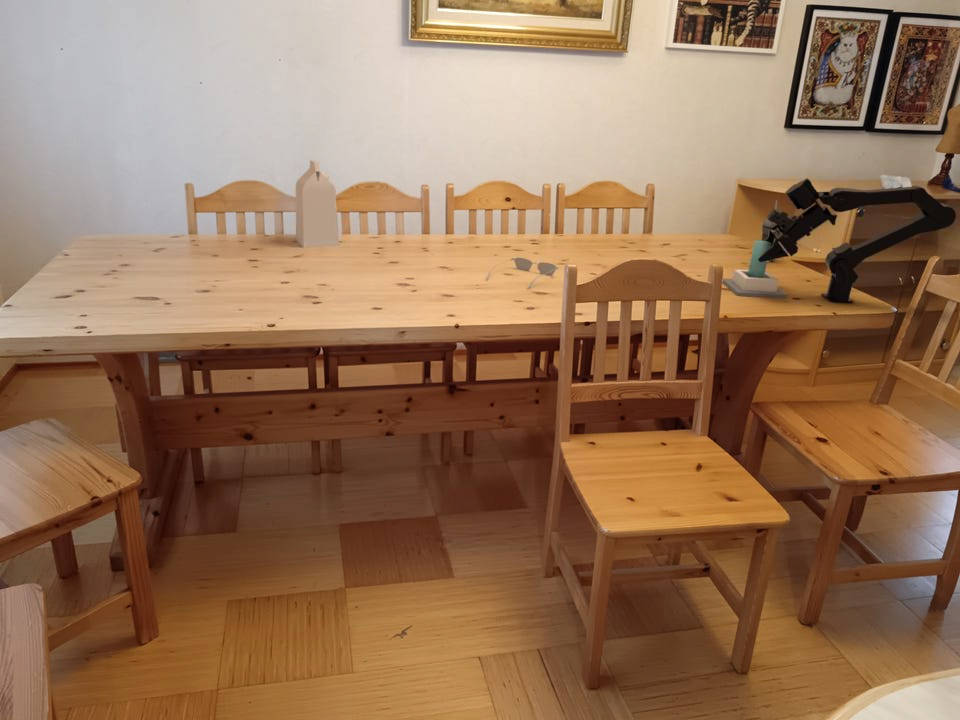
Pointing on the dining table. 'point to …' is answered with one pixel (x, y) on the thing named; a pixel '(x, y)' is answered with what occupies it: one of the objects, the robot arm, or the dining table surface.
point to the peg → (755, 266)
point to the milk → (316, 209)
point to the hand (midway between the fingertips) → (757, 256)
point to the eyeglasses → (526, 265)
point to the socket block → (754, 285)
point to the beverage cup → (767, 228)
